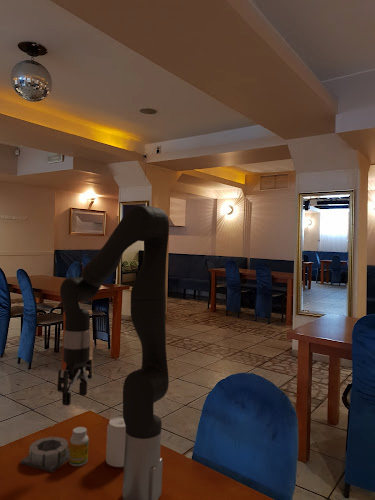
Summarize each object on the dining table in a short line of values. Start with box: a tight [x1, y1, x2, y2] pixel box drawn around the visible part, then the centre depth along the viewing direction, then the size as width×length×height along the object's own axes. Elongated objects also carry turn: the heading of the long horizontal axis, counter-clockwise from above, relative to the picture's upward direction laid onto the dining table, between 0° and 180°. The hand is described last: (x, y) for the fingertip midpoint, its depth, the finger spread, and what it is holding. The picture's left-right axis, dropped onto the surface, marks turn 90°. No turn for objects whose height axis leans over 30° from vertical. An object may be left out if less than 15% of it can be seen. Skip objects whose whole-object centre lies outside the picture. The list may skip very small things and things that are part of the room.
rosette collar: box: [20, 436, 70, 473], centre depth 119 cm, size 11×11×4 cm
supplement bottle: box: [68, 426, 90, 467], centre depth 118 cm, size 5×5×10 cm
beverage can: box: [105, 416, 126, 468], centre depth 119 cm, size 8×8×12 cm
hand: (75, 399), depth 117 cm, fingers open, 8 cm apart
